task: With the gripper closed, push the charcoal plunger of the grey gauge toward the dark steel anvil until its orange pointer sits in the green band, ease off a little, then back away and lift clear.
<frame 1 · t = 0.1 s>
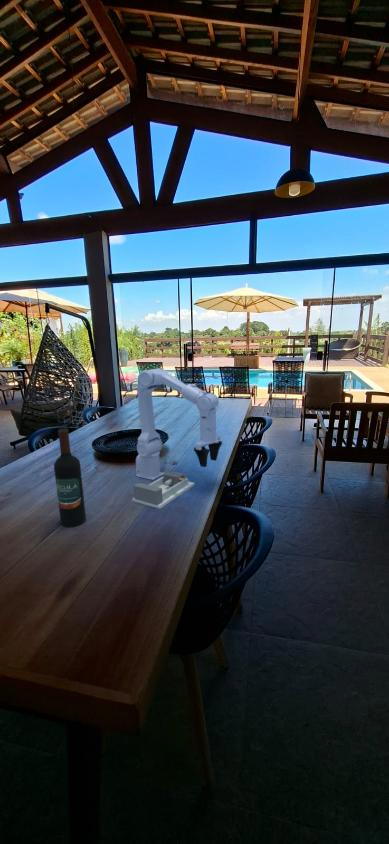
hand: (208, 463, 135), 10 cm above the table, tool pointing down, fingers open, 7 cm apart
wine bottle: (73, 521, 116), on the table
gauge frame: (164, 492, 134), on the table
plunger: (174, 481, 137), point 3 cm above the table, slide at 0.0 cm
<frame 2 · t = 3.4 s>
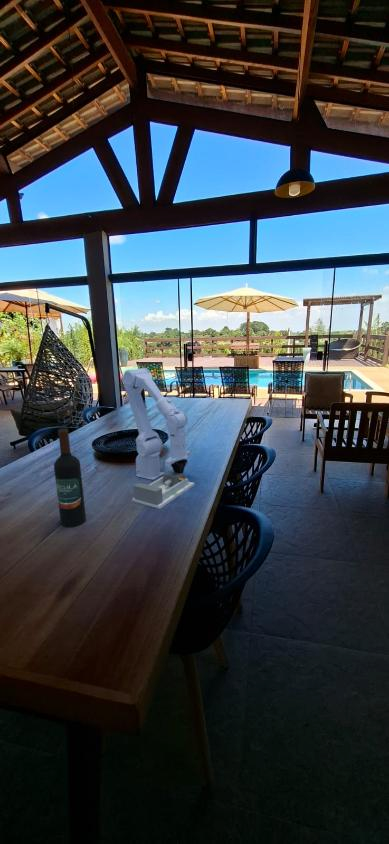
hand: (179, 478, 142), 2 cm above the table, tool pointing down, fingers closed
plunger: (174, 481, 137), point 3 cm above the table, slide at 0.1 cm, touching gripper
everything else where it was.
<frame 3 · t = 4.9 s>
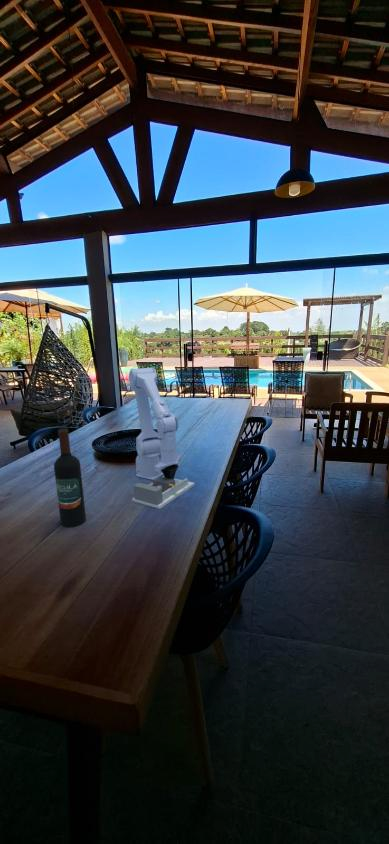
hand: (169, 483, 136), 2 cm above the table, tool pointing down, fingers closed
plunger: (164, 487, 132), point 3 cm above the table, slide at 6.2 cm, touching gripper
everything else where it was.
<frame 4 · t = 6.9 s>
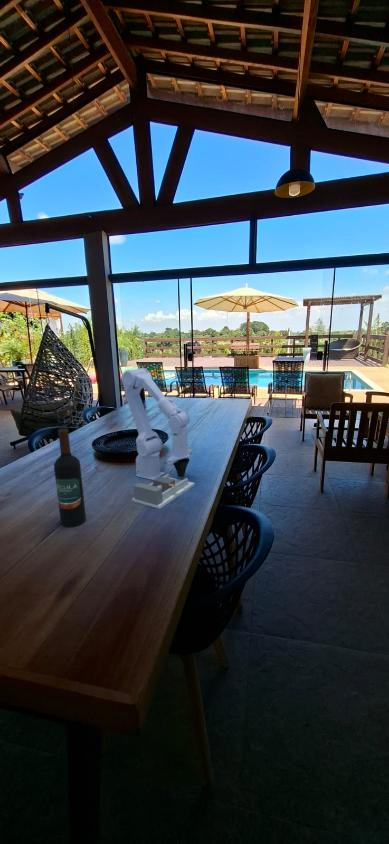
hand: (181, 476, 143), 2 cm above the table, tool pointing down, fingers closed
plunger: (164, 487, 132), point 3 cm above the table, slide at 6.2 cm
everything else where it was.
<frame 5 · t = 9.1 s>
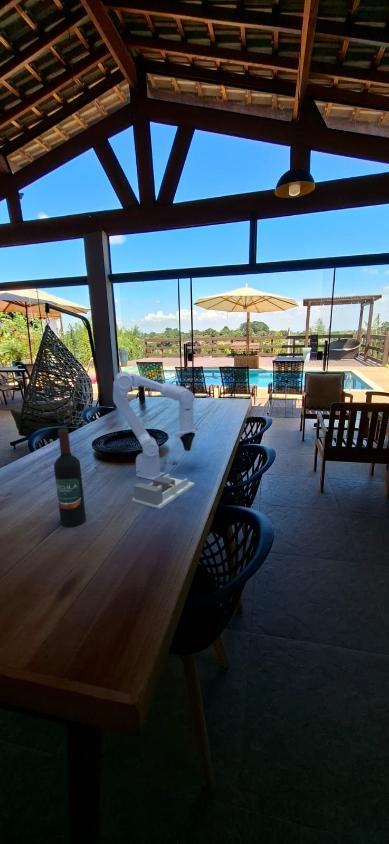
hand: (187, 450, 152), 9 cm above the table, tool pointing down, fingers closed
nothing on the table moved.
at the end: plunger slide at 6.2 cm; the gripper is holding nothing; wine bottle moved 0.2 cm from its start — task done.
